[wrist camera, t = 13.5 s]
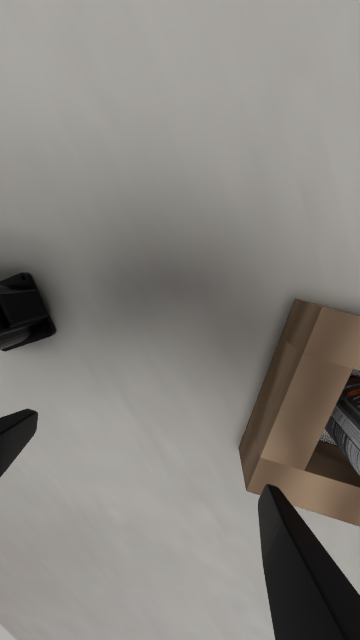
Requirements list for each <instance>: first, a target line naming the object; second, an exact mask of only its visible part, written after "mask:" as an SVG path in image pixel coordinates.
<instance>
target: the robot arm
mask: <svg viewBox="0 0 360 640" xmlns="http://www.w3.org/2000/svg"><path fill="white" fill-rule="evenodd" d="M25 277H26V280H25ZM49 330H50V332H49ZM55 332H56V331H55V328H54V326H53V323H52V321H51V319H50V317H49V314H48V312H47V310H46V308H45V306H44V303H43V301H42V299H41V297H40V294H39V292H38V290H37V288H36V286H35V283H34V281H33V279H32V277H31V275H30V274H29V273H20V274H17V275H15V276H12V277H10V278H7V279H5V280H3V281H0V350H2V351H8V350H11V349H14V348H17V347H20V346H23V345H26V344H29V343H32V342H35V341H38V340H41V339H44V338H46V337H49V336H52V335H54V334H55ZM37 420H38V412H37V411H34V410H31V409H25V410H22V411H19V412H16V413H13V414H10V415H7V416H4V417H1V418H0V477H1V476H2V475H3V473H4V472H5V471H6V470H7V469H8V467H9V466H10V465H11V464H12V462H13V461H14V460H15V458H16V457H17V456H18V455H19V453H20V452H21V451H22V450H23V448H24V447H25V446H26V444H27V443H28V442H29V441H30V439H31V438H32V437H33V435H34V434H35V432H36V429H37ZM258 514H259V526H260V538H261V550H262V560H263V568H264V575H265V581H266V587H267V593H268V599H269V605H270V611H271V617H272V623H273V629H274V635H275V640H360V595H359V594H358V593H357V591H356V590H355V589H354V587H353V586H352V584H351V583H350V582H349V580H348V579H347V578H346V576H345V575H344V574H343V572H342V571H341V570H340V568H339V567H338V566H337V564H336V563H335V562H334V560H333V559H332V558H331V556H330V555H329V554H328V552H327V551H326V550H325V548H324V547H323V546H322V544H321V543H320V542H319V540H318V539H317V538H316V536H315V535H314V534H313V532H312V531H311V530H310V528H309V527H308V526H307V524H306V523H305V522H304V520H303V519H302V518H301V516H300V515H299V514H298V512H297V511H296V510H295V508H294V507H293V506H292V504H291V503H290V502H289V500H288V499H287V498H286V496H285V495H284V494H283V492H282V491H281V490H280V489H279V488H278V487H277V486H274V485H271V484H266V485H265V486H264V489H263V491H262V493H261V496H260V498H259V501H258Z"/></svg>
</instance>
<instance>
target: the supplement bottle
mask: <svg viewBox="0 0 360 640" xmlns="http://www.w3.org/2000/svg"><path fill="white" fill-rule="evenodd" d="M325 429H326V431H327V432H328V433H329V435H330V436H331V437H332V439H333V440H334V441H335V443H336V444H337V446H338V447H339V448H340V450H341V451H342V452H343V454H344V455H345V456H346V458H347V459H348V461H349V462H350V463H351V465H352V466H353V467H354V469H355V470H356V471H357V473H358V474H359V475H360V378H348V381H347V383H346V385H345V387H344V389H343V391H342V393H341V395H340V397H339V399H338V401H337V403H336V406H335V408H334V410H333V412H332V414H331V416H330V418H329V420H328V422H327V424H326V426H325Z"/></svg>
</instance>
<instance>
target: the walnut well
mask: <svg viewBox="0 0 360 640" xmlns="http://www.w3.org/2000/svg"><path fill="white" fill-rule="evenodd" d="M353 369H356V370H360V315H356V314H352V313H348V312H344V311H341V310H337V309H333V308H329V307H325V306H321V305H317V304H313V303H309V302H305V301H302V300H298V299H295V301H294V303H293V306H292V309H291V311H290V314H289V317H288V319H287V322H286V325H285V327H284V330H283V333H282V335H281V338H280V340H279V343H278V346H277V348H276V351H275V354H274V356H273V359H272V362H271V364H270V367H269V370H268V372H267V375H266V377H265V380H264V383H263V385H262V388H261V391H260V393H259V396H258V399H257V401H256V404H255V407H254V409H253V412H252V415H251V417H250V420H249V422H248V425H247V428H246V430H245V433H244V436H243V438H242V441H241V444H240V446H239V453H240V459H241V464H242V470H243V475H244V481H245V486H246V491H248V492H251V493H255V494H258V495H261V493H262V491H263V489H264V486H265V485H266V484H271V485H274V486H277V487H278V488H279V489H280V490H281V491H282V492H283V494H284V495H285V496H286V498H287V499H288V500H289V502H290V503H291V504H292V505H293V506H296V507H299V508H302V509H306V510H309V511H312V512H315V513H318V514H322V515H325V516H328V517H331V518H334V519H338V520H341V521H344V522H347V523H350V524H353V525H357V526H360V475H359V474H358V473H357V471H356V470H355V469H354V467H353V466H352V465H351V463H350V462H349V461H348V459H347V458H346V456H345V455H344V454H343V452H342V451H341V450H340V448H339V447H338V446H335V445H332V444H329V443H325V442H322V441H319V439H320V437H321V435H322V433H323V431H324V428H325V426H326V424H327V422H328V420H329V418H330V416H331V414H332V412H333V410H334V408H335V406H336V403H337V401H338V399H339V397H340V395H341V393H342V391H343V389H344V387H345V385H346V383H347V381H348V378H349V376H350V374H351V372H352V370H353Z"/></svg>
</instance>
